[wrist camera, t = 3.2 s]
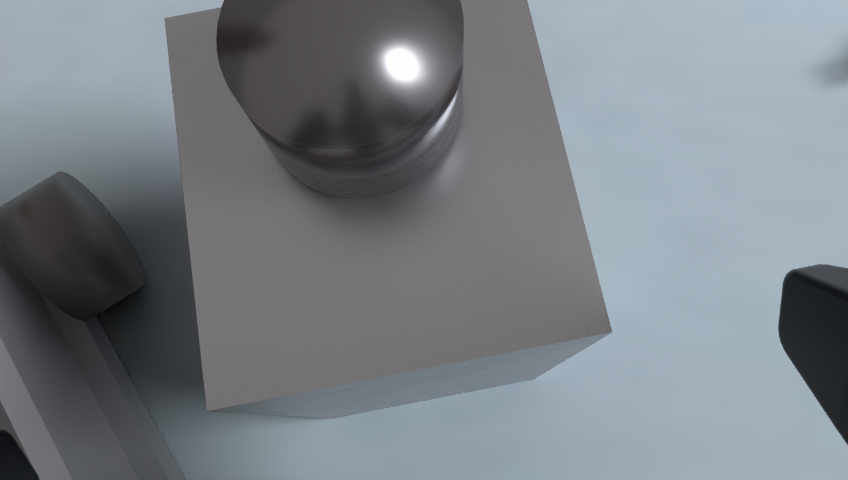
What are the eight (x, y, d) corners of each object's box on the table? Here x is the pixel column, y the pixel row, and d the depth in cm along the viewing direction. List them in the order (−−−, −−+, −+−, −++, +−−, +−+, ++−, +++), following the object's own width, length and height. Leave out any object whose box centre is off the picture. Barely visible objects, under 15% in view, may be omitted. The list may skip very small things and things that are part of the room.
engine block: (534, 379, 19) (651, 308, 8) (332, 418, 19) (143, 407, 8) (487, 172, 21) (526, -150, 9) (300, 208, 21) (102, -68, 9)
